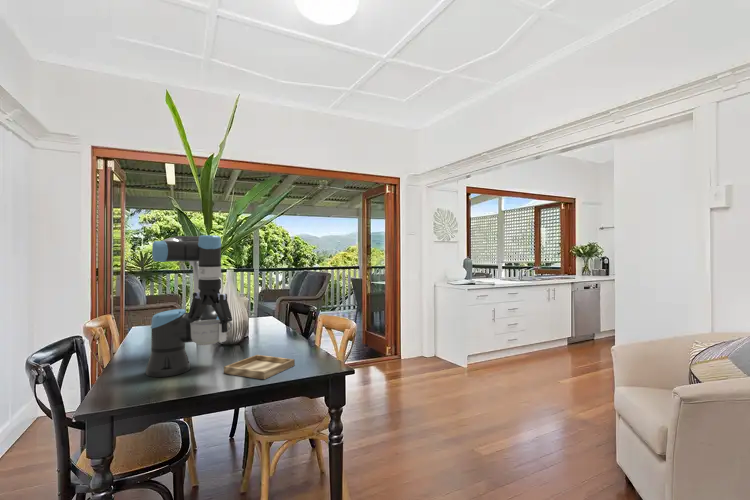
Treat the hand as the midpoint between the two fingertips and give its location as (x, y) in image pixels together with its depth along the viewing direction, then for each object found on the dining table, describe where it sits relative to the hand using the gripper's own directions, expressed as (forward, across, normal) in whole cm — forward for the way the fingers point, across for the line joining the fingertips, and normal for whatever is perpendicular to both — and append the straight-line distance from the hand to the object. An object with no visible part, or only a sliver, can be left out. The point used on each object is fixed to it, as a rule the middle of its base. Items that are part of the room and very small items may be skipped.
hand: (209, 340), depth 144 cm
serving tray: (+15, +7, +19) cm, 25 cm away
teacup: (+1, +1, 0) cm, 2 cm away
